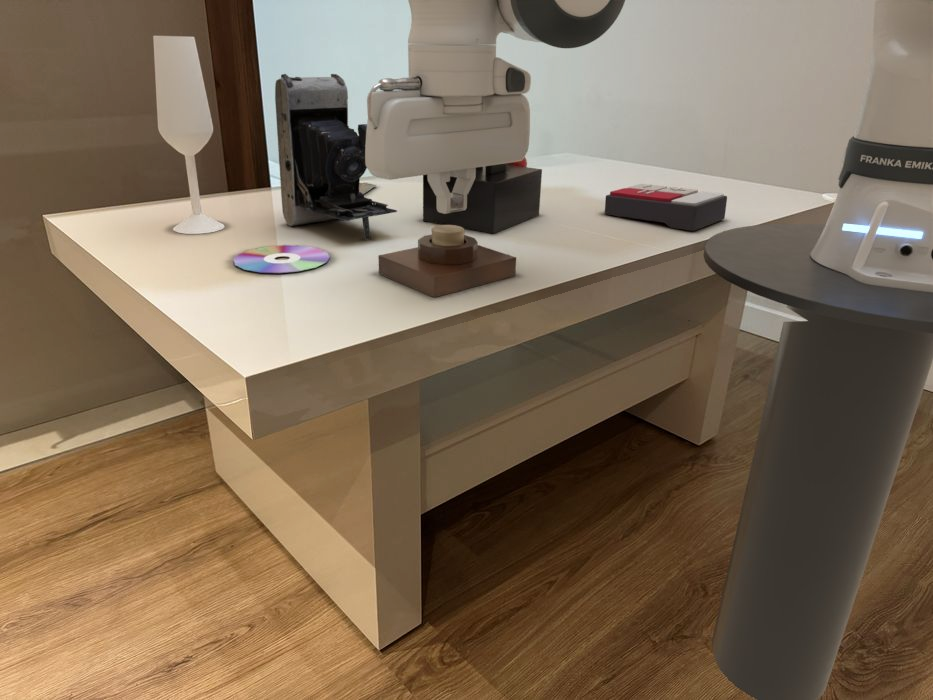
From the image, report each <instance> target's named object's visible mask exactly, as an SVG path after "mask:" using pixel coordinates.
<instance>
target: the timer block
mask: <svg viewBox="0 0 933 700" xmlns="http://www.w3.org/2000/svg"><path fill="white" fill-rule="evenodd" d="M478 243H479V242H478V240H477V239H476V238H475V237H472V236H470V235H466V234H464V244H462V245H458V246H441V245H435V244H432V233H431V234H427V235H426V234H425V235H423V236H422V237H420V238H419V239H418V240H417V247H412V248H407V249H403V250H397V251H393V252H388V253H384V254H379V255H378V256H377V257H378V275H381V276H382V277H385V278H388V279H390V280H392V281H394V282H397V283H399V284H402V285H404V286H405V287H408V288H411V289H414V290H415V291H419V292H421V293H422V294H425V295H427V296H430V297H433V298H438V297H441V296H446V295H449V294H452V293H453V294H454V293H456V292H459V291H463V290H467V289H471V288H474V287H479V286H482V285H486V284H489V283H493V282H497V281H500V280H504V279H508V278H511V277H515V276H516V272H517V271H516V269H517V257H516V256H513V255H510V254H507V253H505V252H501V251H498V250H495V249H491V248H489V247H486V246H482V245H479V244H478Z"/></svg>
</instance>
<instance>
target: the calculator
mask: <svg viewBox="0 0 933 700" xmlns="http://www.w3.org/2000/svg"><path fill="white" fill-rule="evenodd" d="M727 201H728V195H724V193H720V192H712V191H711V192H710V191H699V189H696V188H695V189H694V188H686V187H685V188H684V187H677V186H669V187H668V186H665V185H658V184H657V185H656V184H647V183H639V184H636V185H632V186H628V187H624V188H620V189H615V190H612V191H609V194H607V195H605V201H604V215H606V216H612V217H613V216H614V217H621V218H628V219H635V220H643V221H648V222H657V223H663V224H665V225H666V226H667V227H668V228H670V229H677V230H682V231H683V230H684V231H690V232H694V231H697V230H700V229H703V228H705V227H707V226H710V225H712V224H715V223H718V222H720V221H723V220H725V219H726V210H727Z"/></svg>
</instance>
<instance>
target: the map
mask: <svg viewBox="0 0 933 700" xmlns="http://www.w3.org/2000/svg"><path fill="white" fill-rule="evenodd" d="M376 186H377V184H374V183H369V182H359V192H361V193H362V194H363V195H364V194H366V193H367V192H369V191H370V190H372V189H373V188H375V187H376Z"/></svg>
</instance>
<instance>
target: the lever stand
mask: <svg viewBox="0 0 933 700" xmlns="http://www.w3.org/2000/svg"><path fill="white" fill-rule="evenodd" d="M542 175H543V169H542V168H535V167H528V166H527V167H520V166H513V165H506V163H504V164H497V165H490V166H483V167H476V178H475V180H474V182H473V185H472V187H471V189H470V191H469V193H468V194H467V208H466V210H463V211H457V212H452V213H447V214H443V213H440V212H438V211H437V198H436V195H435V193H434V192H433V190H432V188H431V186H430V184H429V182H428V176H427V175H422V221H423V222H427V223H432V224H438V225H455V226H460V227H462V228H464V230H465V229H466V230H471V231H476V232H481V233H487V234H492V235H494V234H496V233H499V232H501V231H504V230H506V229H508V228H509V229H510V228H511V227H514V226H516V225H519V224H521V223H524V222H526V221H528V220H532V219H533V218H535V217H538V216H540V209H541V208H540V206H541V194H542V193H541V189H542V178H543V177H542ZM456 180H457V177H456V176H454V171H450V181H449V182H446V184H447V187H448V189H449V192H450V193H452V191H453V188H454V185H455V182H456Z"/></svg>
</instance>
